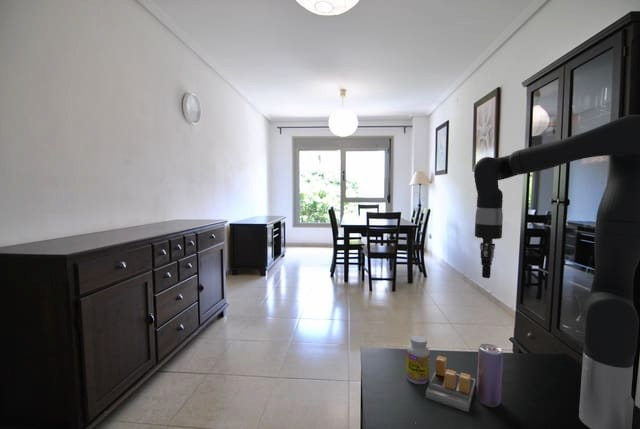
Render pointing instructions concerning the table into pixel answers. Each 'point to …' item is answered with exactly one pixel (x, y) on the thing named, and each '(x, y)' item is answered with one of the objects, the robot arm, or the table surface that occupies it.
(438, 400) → the tray
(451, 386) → the paddle
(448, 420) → the table surface
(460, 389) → the tan upright block
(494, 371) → the beverage can
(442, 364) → the wooden block
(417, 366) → the supplement bottle
